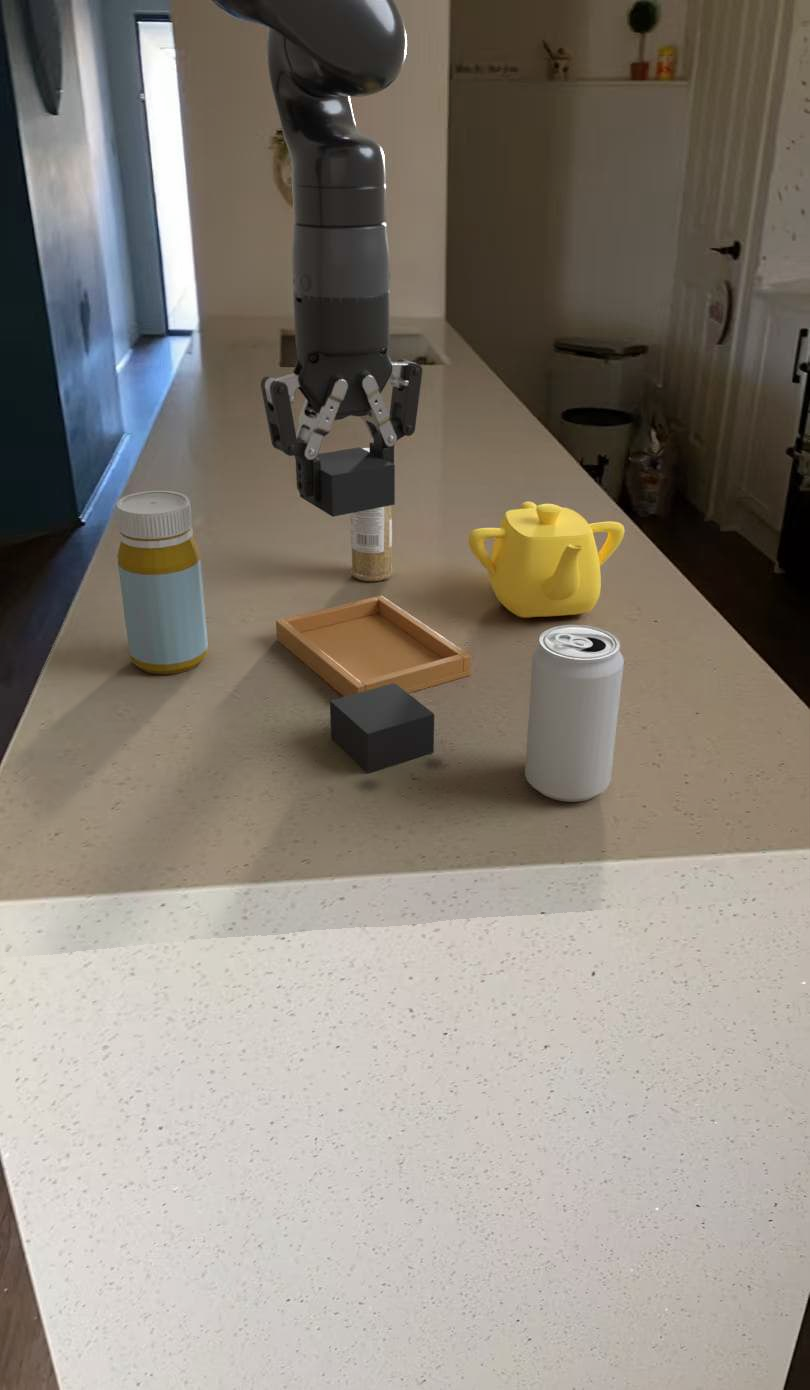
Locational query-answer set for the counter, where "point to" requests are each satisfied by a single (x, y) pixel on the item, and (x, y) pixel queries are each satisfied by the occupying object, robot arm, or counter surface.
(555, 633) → the beverage can
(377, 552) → the sprinkles bottle
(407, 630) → the tray
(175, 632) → the bottle
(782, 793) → the counter surface
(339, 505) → the pad
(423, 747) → the pad
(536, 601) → the teapot
